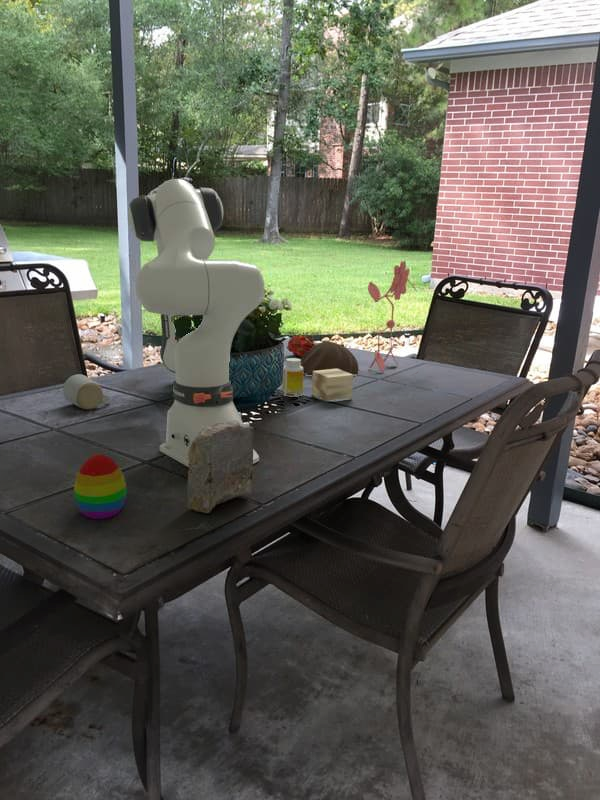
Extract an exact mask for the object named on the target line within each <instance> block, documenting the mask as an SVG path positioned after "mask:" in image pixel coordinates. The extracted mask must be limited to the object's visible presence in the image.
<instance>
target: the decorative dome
mask: <svg viewBox="0 0 600 800" xmlns="http://www.w3.org/2000/svg"><path fill="white" fill-rule="evenodd" d="M300 360H301V365H300V366H302V367H303V372H304V373H306V374H307V375H312V376H313V371H318V370H328V369H340V370H342V371H345V372H348V373H350V374H358V375H359V372H358V370H359V363H358V360H357V358H356V357H355V355H354V354H353V353H352V352H351V350H349V349H348V348H347V347H345V346H344V345H341V344H339V343H337V342H332V341H323V342H319V343H316V345H315V346H313V347H312V348H311V349H310V350H309V351H307V352H306V353H305V354H304V355H303V356H302V357H300Z"/></svg>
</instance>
